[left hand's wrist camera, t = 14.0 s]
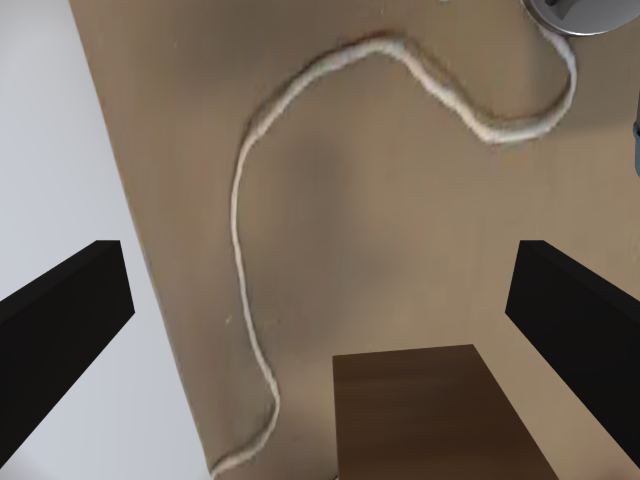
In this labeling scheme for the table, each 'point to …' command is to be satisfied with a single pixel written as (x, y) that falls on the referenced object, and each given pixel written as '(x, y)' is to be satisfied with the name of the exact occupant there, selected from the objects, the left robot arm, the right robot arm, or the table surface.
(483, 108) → the table surface
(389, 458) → the box
